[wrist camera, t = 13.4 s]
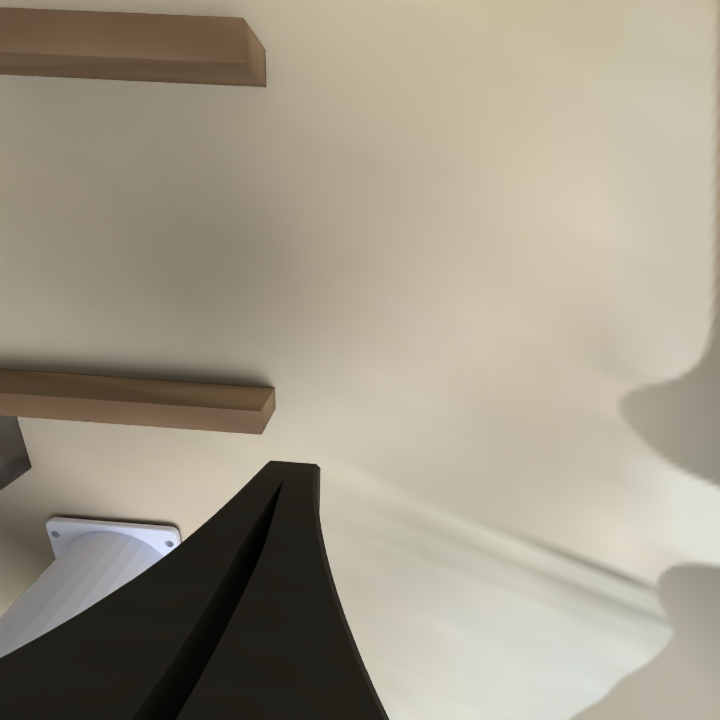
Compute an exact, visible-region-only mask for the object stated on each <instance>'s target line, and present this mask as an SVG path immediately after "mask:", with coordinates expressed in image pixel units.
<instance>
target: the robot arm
mask: <svg viewBox="0 0 720 720" xmlns="http://www.w3.org/2000/svg"><path fill="white" fill-rule="evenodd" d="M319 508H320V467H319V466H318V465H317V464H308V463H295V462H282V461H270V462H268V463H267V464H266V465H265V466H264V467H263V468H262V469H261V470H260V471H259V472H258V473H257V474H256V475H255V476H254V477H253V478H252V479H251V480H250V481H249V482H248V483H247V484H246V485H245V486H244V487H243V488H242V489H241V490H240V491H239V492H238V493H237V494H236V495H235V496H234V497H233V498H232V499H231V500H230V501H229V502H228V503H226V504H225V505H224V506H223V507H222V508H221V509H220V510H219V511H218V512H217V513H216V514H215V515H214V516H212V517H211V518H210V519H209V520H208V521H207V522H206V523H204V524H203V525H202V526H201V527H200V528H199V529H197V530H196V531H195V532H194V533H193V534H192V535H190V536H189V537H188V538H187V539H186V540H184V541H183V542H182V543H181V541H180V535H179V531H178V530H177V529H176V528H174V527H171V526H159V525H147V524H135V523H122V522H110V521H98V520H85V519H73V518H61V517H53V518H51V519H50V520H49V521H48V522H47V523H46V529H47V532H48V535H49V539H50V542H51V545H52V548H53V552H54V555H55V558H56V559H55V560H54V561H53V563H52V564H51V565H50V566H49V567H48V568H47V569H46V570H45V571H44V572H43V573H42V574H41V575H40V576H39V577H38V578H37V579H36V581H35V582H34V583H33V584H32V585H31V586H30V587H29V588H28V589H27V590H26V591H25V592H24V593H23V594H22V595H21V596H20V597H19V599H18V600H17V601H16V602H15V603H14V604H13V605H12V606H11V607H10V608H9V609H8V610H7V611H6V612H5V613H4V614H3V615H2V616H1V618H0V720H389V718H388V716H387V714H386V712H385V710H384V708H383V705H382V703H381V701H380V699H379V697H378V695H377V693H376V690H375V688H374V686H373V684H372V681H371V679H370V677H369V675H368V672H367V670H366V668H365V666H364V663H363V661H362V658H361V656H360V653H359V651H358V648H357V646H356V643H355V640H354V638H353V635H352V633H351V630H350V628H349V625H348V622H347V620H346V617H345V614H344V612H343V609H342V606H341V602H340V599H339V596H338V593H337V590H336V587H335V584H334V580H333V577H332V573H331V570H330V566H329V562H328V558H327V554H326V549H325V545H324V540H323V535H322V530H321V523H320V516H319ZM171 541H172V542H171Z"/></svg>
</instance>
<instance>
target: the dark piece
mask: <svg viewBox="0 0 720 720" xmlns="http://www.w3.org/2000/svg"><path fill="white" fill-rule="evenodd" d="M0 74H6V75H27V76H48V77H69V78H90V79H111V80H132V81H153V82H174V83H194V84H215V85H236V86H257V87H266V61H265V49H264V47H263V46H262V44H261V43H260V41H259V40H258V38H257V37H256V36H255V34H254V33H253V31H252V30H251V28H250V27H249V26H248V24H247V23H246V21H245V20H244V18H234V17H211V16H188V15H164V14H141V13H118V12H94V11H71V10H48V9H24V8H1V7H0ZM274 411H275V388H265V387H251V386H236V385H222V384H208V383H194V382H179V381H165V380H151V379H137V378H123V377H108V376H94V375H80V374H66V373H51V372H37V371H23V370H9V369H0V490H2V489H3V488H4V487H6V486H7V485H8V484H10V483H11V482H13V481H14V480H15V479H17V478H18V477H20V476H21V475H22V474H24V473H25V472H26V471H28V470H29V469H31V465H30V462H29V458H28V455H27V452H26V448H25V445H24V442H23V438H22V435H21V432H20V428H19V425H18V422H17V418H16V416H17V417H30V418H44V419H57V420H71V421H85V422H98V423H112V424H125V425H139V426H152V427H166V428H180V429H193V430H207V431H220V432H234V433H247V434H261V435H262V433H263V431H264V429H265V427H266V425H267V423H268V422H269V420H270V418H271V416H272V414H273V412H274Z"/></svg>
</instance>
